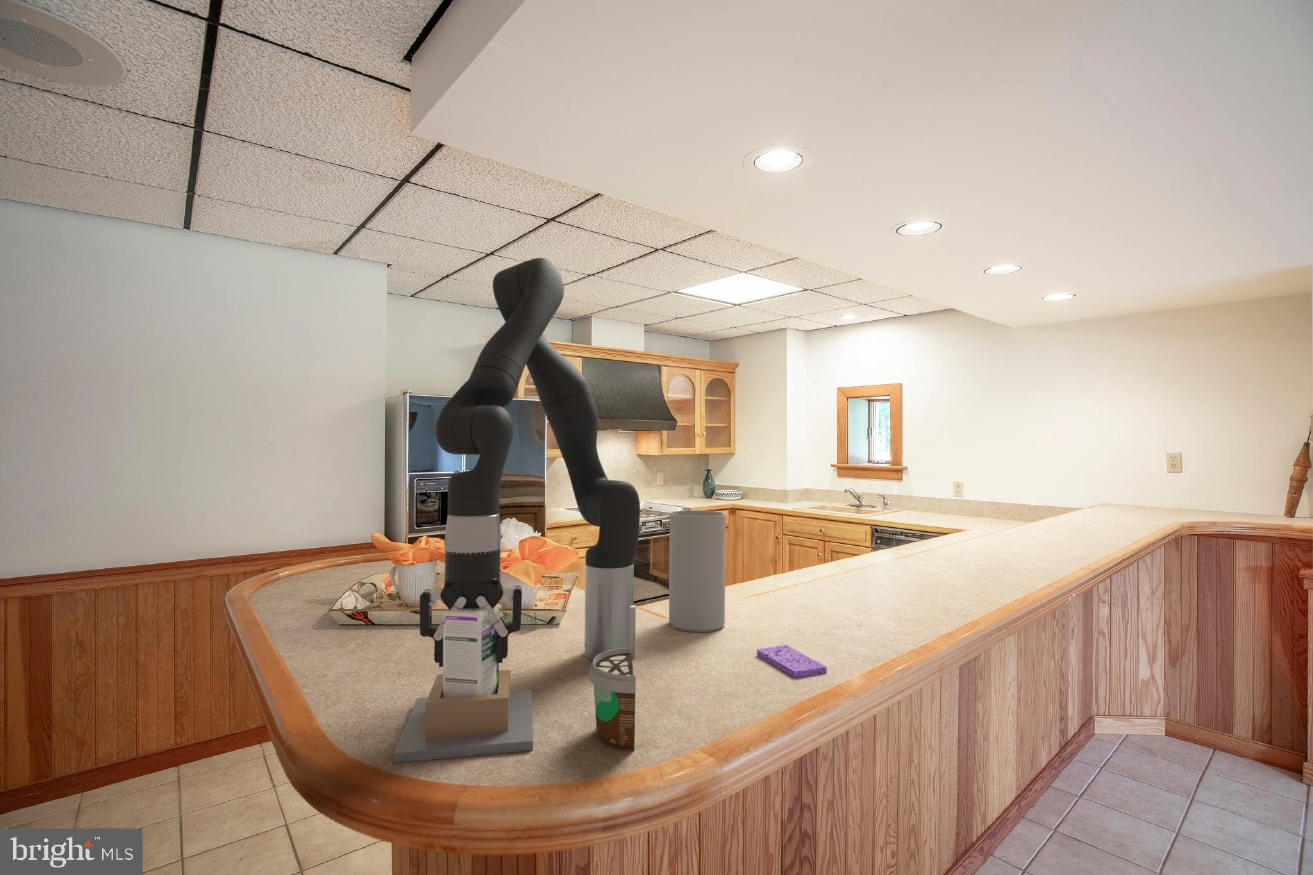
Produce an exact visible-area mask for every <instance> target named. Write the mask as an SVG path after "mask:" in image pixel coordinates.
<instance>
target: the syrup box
mask: <svg viewBox="0 0 1313 875" xmlns="http://www.w3.org/2000/svg"><path fill="white" fill-rule="evenodd" d="M493 610H494V611H495V613H497V611H498V612H500V604H499V603H497V605H496V606H495V607H494V609H493ZM488 611H489V610H486V609H481V608H462V609H461V610H453V611H450V610H449V609H447V610H445V611H444V612H442V614H443V615H442V616H443V618H442V621H443V620H444V619H445V617H446V623H445V624H443V667H442V674H443V698H450V697H464V696H478V695H491V694H497V693H498V685H499V670H500V663H497V643H498V632H497V631H496V629H495V628H494V626H493V625H492V624H491V623H490V621H489V620H488ZM491 616H492V615H491Z"/></svg>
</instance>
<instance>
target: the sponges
mask: <svg viewBox="0 0 1313 875" xmlns="http://www.w3.org/2000/svg"><path fill="white" fill-rule="evenodd" d="M756 657H759V658H760V659H761V660H764V661H765V662H767V663H768V664H770V665H771V666H773V667H775V668H777V669H779V670H780V671H782V672H783V673H785V674H786V675H788V676H790V677H791V678H793V679H794V678H795V679H800V678H805V677H810V676H811V677H812V676H818V675H823V674H827V673H828V670H827V665H825V664H823V663H821V662H819V661H817V660H816V659H812V657H811V658H810V657H809V656H808V655H806V654H804V653H802V652H800V651H799V650H796V649H795V648H793V647H792V646H790V645H788V644H781V645H775V646H771V647H769V646H768V647H762V648H756Z"/></svg>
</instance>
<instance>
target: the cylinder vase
mask: <svg viewBox="0 0 1313 875" xmlns="http://www.w3.org/2000/svg"><path fill="white" fill-rule="evenodd" d="M726 515H727V514H726V512H721V511H715V510H714V511H713V510H677V511H676V510H675V511H671V512H669V560H668V561H669V566H668V568H669V570H668V571H669V573H668V575H669V576H668V579H669V582H668V585H669V586H668V590H669V591H668V592H669V593H668V594H669V596H668V623H669V624H670V626H671V627H672V628H674V629H676V630H679V631H683V632H690V633H710V632H714V631H715V632H716V631H718V630H720V629H722V628H723V627H724V625H725V623H726V527H727V526H726V523H727V522H726V520H727V519H726Z"/></svg>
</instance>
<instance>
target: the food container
mask: <svg viewBox="0 0 1313 875" xmlns="http://www.w3.org/2000/svg"><path fill="white" fill-rule="evenodd" d="M632 659H633V658H632V647H628V648H618V649H613V650H609V651H605V652H603V653H601V654H599V655H597V656H596V657H595V658H594V660H592V663H591V665H590V669H589V674H588V680H589V681H590V684H592V685H593V692H594V711H595V727H596V729H595V730H596V738H597V740H598V741H599V743H601V744H602V745H603V746H606V747H607V748H612V749H614V750H615V749H616V750H620V751H635V746H636V744H635V737H636V733H635V730H636V690H637V689H636V687H637V686H636V680H637V678H636V675H634V667H633V660H632Z"/></svg>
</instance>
